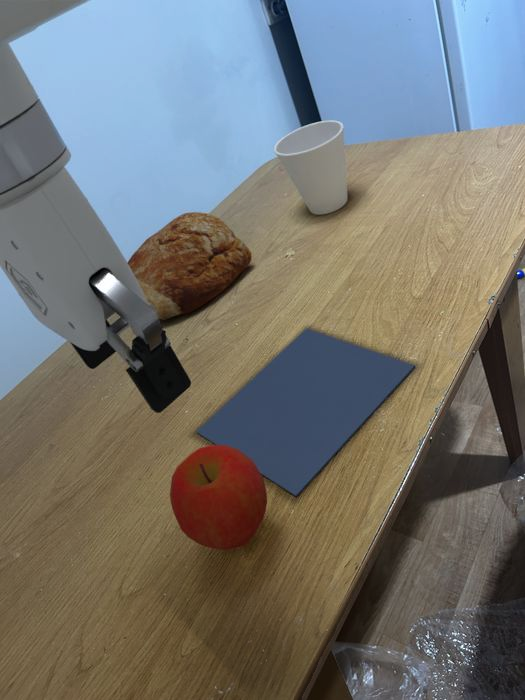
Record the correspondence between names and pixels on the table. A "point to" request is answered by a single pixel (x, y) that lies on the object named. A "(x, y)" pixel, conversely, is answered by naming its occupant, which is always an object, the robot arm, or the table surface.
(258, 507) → the apple
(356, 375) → the napkin
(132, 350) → the robot arm
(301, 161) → the cup
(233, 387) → the table surface
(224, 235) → the bread
